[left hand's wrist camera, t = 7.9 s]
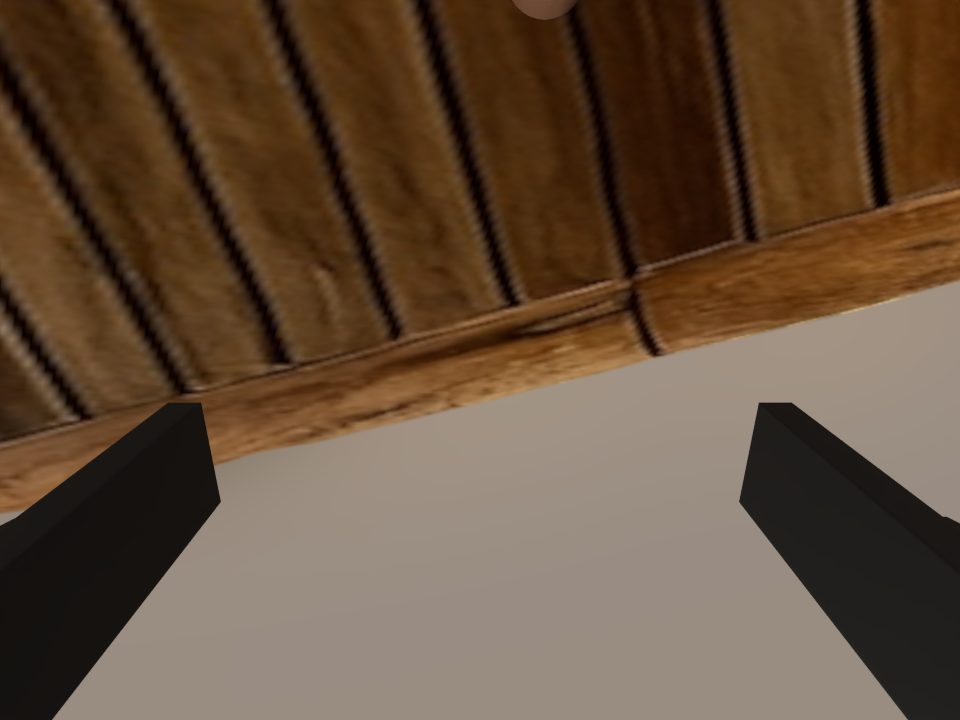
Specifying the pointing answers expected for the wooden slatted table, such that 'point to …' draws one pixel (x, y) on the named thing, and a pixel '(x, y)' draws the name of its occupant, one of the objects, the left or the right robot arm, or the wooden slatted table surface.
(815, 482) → the left robot arm
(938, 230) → the wooden slatted table surface
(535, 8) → the brown tall cylinder
